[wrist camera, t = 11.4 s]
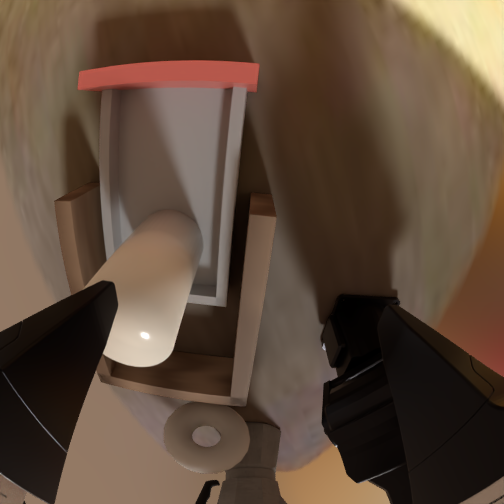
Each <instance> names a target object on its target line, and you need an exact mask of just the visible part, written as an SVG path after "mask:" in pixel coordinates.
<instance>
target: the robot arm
mask: <svg viewBox="0 0 504 504" xmlns="http://www.w3.org/2000/svg"><path fill="white" fill-rule="evenodd" d="M343 299H344V301H342V302H341V300H343ZM395 302H396V303H395ZM399 305H400V301H399V299H398V298H396V297H377V296H360V295H340V296H339V297H338V298H337V300H336V303H335V307H334V310H333V313H332V315H330V316H329V318H328V321H327V324H326V327H325V330H324V333H323V336H322V337H323V342H322V348H323V349H324V350H326V352H327V356H328V360H329V364H330V366H331V367H332V368H336V371H337V375H338V377H337V378H335V379H333V380H332V381H330V380H329V381H327V382H326V383H324V389H323V407H322V425H323V427H324V432H325V434H326V435H327V436H328V437H329V439H330V441H331V442H332V443H333V444H334V445H335V446H336V447H337V448H338V450H339V452H340V455H341V458H342V460H343V463H344V467H345V470H346V473H347V475H348V476H349V477H350V478H351V479H352V480H353V481H355V482H356V483H362V482H364V481H369V482H371V483H372V484H374V485H376V486H378V487H379V488H381V489H383V490H385V491H386V493H387V496H388V498H389V501H390V503H391V504H504V377H503V376H501V375H499V374H498V373H496V372H494V371H493V370H491V369H490V368H488V367H487V366H485V365H484V364H483V363H481V362H480V361H478V360H477V359H475V358H474V357H472V356H471V355H469V354H468V353H467V352H465V351H464V350H463V349H461V348H460V347H458V346H457V345H456V344H454V343H453V342H451V341H450V340H448V339H447V338H445V337H444V336H443V335H441V334H440V333H438V332H437V331H435V330H434V329H432V328H431V327H429V326H428V325H426V324H425V323H423V322H422V321H421V320H419V319H418V318H416V317H415V316H413V315H412V314H410V313H409V312H407V311H406V310H404V309H403V308H401V307H400V306H399ZM117 310H118V299H117V293H116V288H115V284H114V283H113V282H112V281H106V280H102V281H99V282H97V283H95V284H93V285H91V286H89V287H87V288H85V289H83V290H81V291H79V292H77V293H75V294H73V295H71V296H69V297H67V298H65V299H63V300H61V301H59V302H57V303H55V304H53V305H51V306H49V307H48V308H45V309H43V310H42V311H40V312H38V313H36V314H34V315H32V316H30V317H28V318H26V319H24V320H23V321H20V322H19V323H17V324H15V325H13V326H11V327H9V328H7V329H5V330H3V331H1V332H0V504H26V503H25V501H24V499H25V495H26V492H28V493H30V494H32V495H33V496H35V497H37V498H39V499H40V500H42V501H44V502H46V503H48V504H54V503H55V499H56V495H57V490H58V486H59V482H60V478H61V474H62V470H63V467H64V463H65V459H66V456H67V453H66V452H68V448H69V445H70V442H71V439H72V435H73V432H74V429H75V426H76V423H77V420H78V417H79V414H80V411H81V408H82V406H83V403H84V400H85V397H86V395H87V392H88V389H89V387H90V384H91V382H92V379H93V377H94V374H95V371H96V369H97V367H98V364H99V362H100V359H101V357H102V354H103V352H104V350H105V347H106V344H107V341H108V338H109V335H110V331H111V328H112V325H113V322H114V319H115V316H116V313H117Z"/></svg>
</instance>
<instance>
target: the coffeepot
mask: <svg viewBox="0 0 504 504" xmlns="http://www.w3.org/2000/svg"><path fill="white" fill-rule="evenodd" d="M245 423H246V425H247V426H248V430H249V436H250V443H249V447H248V451H247V453H246V454H245V456H244V457H243V459H242V460H241V461H240V462H239V463H238V464H236V465H235V466H234V467H232V468H231V469H229V470H226V471H225V472H226V480H225V481H223V483H222V487H221V491H220V495H219V499H218V503H217V504H287V503H286V502H285V501H284V499H283V498H282V497H281V495H280V491H279V487H278V482H277V481H275V472H276V465H277V458H278V450H279V443H280V435H281V431H280V430H279V429H277V428H276V427H274V426H271V425H269V424H264V423H258V422H245ZM217 485H220V484H219V482H218V481H217V480H210V481H206V482H205V484H204V486H203V489H202V491H201V493H200V495H199V497H198V499H197V501H196V504H206V502H207V500H208V499H209V497H210V492H211V488H212V487H213V486H217Z"/></svg>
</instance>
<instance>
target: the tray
mask: <svg viewBox="0 0 504 504" xmlns="http://www.w3.org/2000/svg"><path fill="white" fill-rule="evenodd" d="M258 75H259V64H256V63H245V62H231V61H202V60H187V61H159V62H144V63H134V64H125V65H117V66H109V67H103V68H97V69H91V70H85V71H80V73H79V82H78V90H90V91H101V92H102V99H101V114H100V143H99V164H100V194H101V210H102V222H103V232H104V242H105V250H106V258H107V260H108V259H109V258H110V257H111V256H112V254H113V253H114V252H115V251H116V250H117V249H118V248H119V247H120V245H121V244H122V243H123V242H124V241H125V240H126V239H127V238H128V237H129V236H130V235H131V233H132V232H133V231H134V230H135V229H136V228H137V227H138V226H139V225H140V224H141V223H142V222H143V221H144V220H145V219H146V218H147V217H148V216H149V215H150V214H152V213H154V212H156V211H160V210H166V209H167V210H176V211H179V212H182V213H184V214H186V215H187V216H189V217H190V218H191V219H192V220H193V221H194V222H195V223H196V224H197V226H198V227H199V229H200V231H201V233H202V236H203V242H204V247H203V252H202V256H201V259H200V262H199V265H198V268H197V271H196V274H195V277H194V281H193V284H192V287H191V290H190V294H189V297H188V300H187V302H188V303H196V304H205V305H214V306H223V307H226V304H227V297H228V290H229V277H230V265H231V253H232V241H233V230H234V218H235V208H236V197H237V187H238V176H239V166H240V156H241V147H242V137H243V128H244V119H245V110H246V101H247V92H256V93H257V84H258Z"/></svg>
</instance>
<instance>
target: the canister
mask: <svg viewBox="0 0 504 504" xmlns="http://www.w3.org/2000/svg"><path fill="white" fill-rule="evenodd" d="M203 247H204V242H203V236H202V233H201V231H200V229H199V227H198V226H197V224H196V223H195V222H194V221H193V220H192V219H191V218H190V217H189V216H187V215H186V214H184V213H182V212H179V211H176V210H167V209H166V210H160V211H156V212H154V213H152V214H150V215H149V216H148V217H147V218H146V219H145V220H144V221H143V222H142V223H141V224H140V225H139V226H138V227H137V228H136V229H135V230H134V231H133V232H132V233H131V235H130V236H129V237H128V238H127V239H126V240H125V241H124V242H123V243H122V244H121V245H120V247H119V248H118V249H117V250H116V251H115V252H114V253H113V254H112V256H111V257H110V258H109V259H108V260H107V261H106V262H105V264H104V265H103V266H102V267H101V268H100V269H99V271H98V272H97V273H96V274H95V275H94V277H93V278H92V279H91V280H90V281H89V283H88V284H87V285H86V286H85V287H84V289H85V288H87V287H89V286H91V285H93V284H95V283H97V282H99V281H102V280H106V281H112V282H113V283H114V284H115V288H116V293H117V299H118V310H117V313H116V316H115V319H114V322H113V325H112V328H111V331H110V335H109V338H108V341H107V344H106V347H105V350H104V352H103V354H104V355H105V356H107V357H109V358H111V359H112V360H115V361H117V362H119V363H122V364H125V365H129V366H135V367H148V366H154V365H157V364H159V363H161V362H163V361H164V360H166V359H167V358H168V357H169V356H170V354H171V353H172V351H173V348H174V345H175V341H176V338H177V334H178V331H179V327H180V324H181V320H182V317H183V314H184V310H185V307H186V303H187V300H188V297H189V294H190V290H191V287H192V284H193V281H194V277H195V274H196V271H197V268H198V265H199V262H200V259H201V256H202V252H203Z"/></svg>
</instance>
